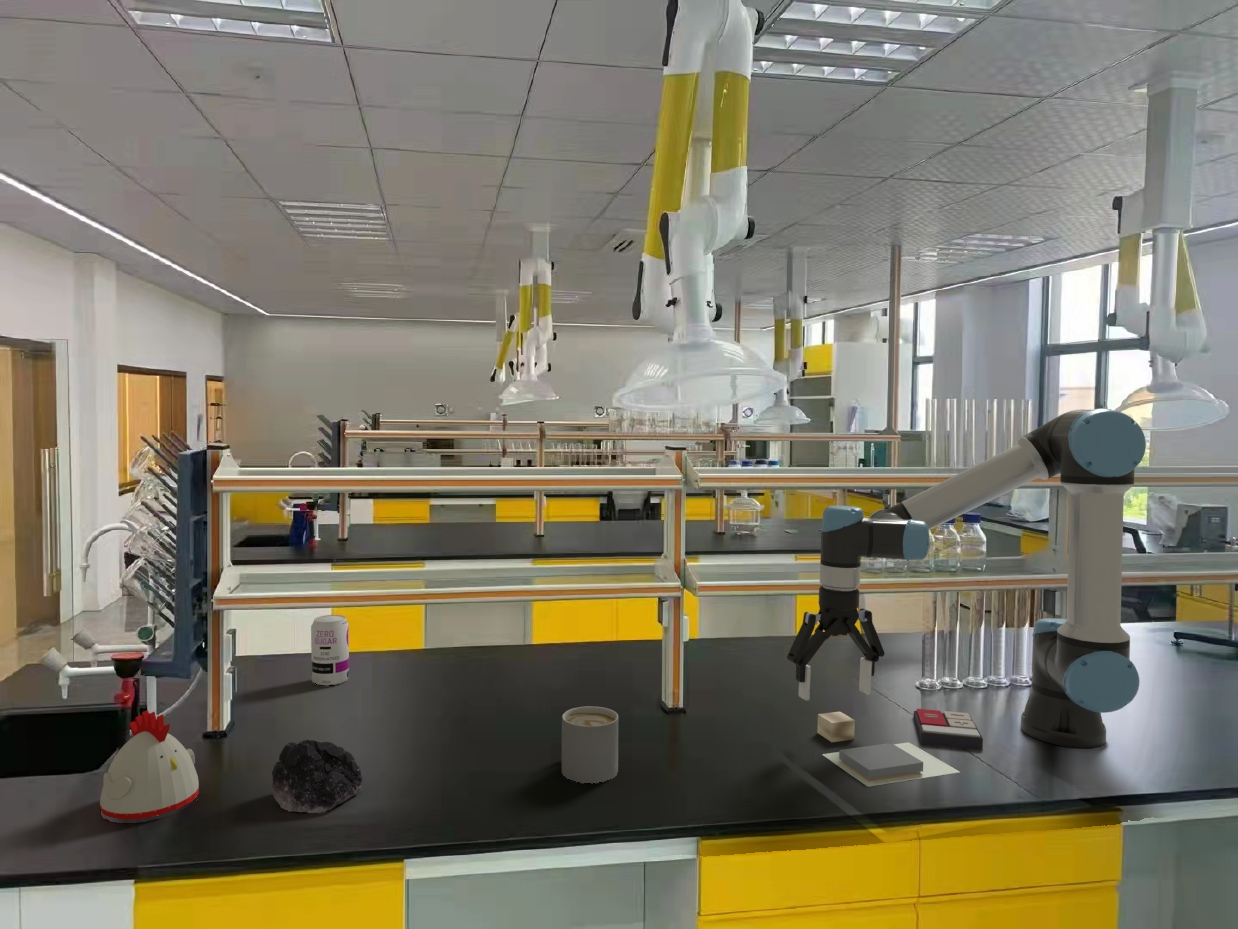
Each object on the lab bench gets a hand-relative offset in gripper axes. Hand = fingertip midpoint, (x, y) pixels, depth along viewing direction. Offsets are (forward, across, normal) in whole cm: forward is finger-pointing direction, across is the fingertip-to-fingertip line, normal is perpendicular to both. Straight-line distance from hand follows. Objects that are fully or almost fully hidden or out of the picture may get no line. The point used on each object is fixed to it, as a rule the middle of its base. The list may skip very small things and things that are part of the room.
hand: (834, 695), depth 162 cm
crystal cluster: (+11, +94, -5) cm, 95 cm away
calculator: (+9, -22, +5) cm, 25 cm away
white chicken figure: (+11, +120, -11) cm, 121 cm away
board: (+9, -2, +14) cm, 17 cm away
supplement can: (+11, +92, -67) cm, 115 cm away
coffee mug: (+10, +48, -3) cm, 50 cm away
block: (+9, 0, 0) cm, 9 cm away
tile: (+7, -5, +15) cm, 17 cm away
